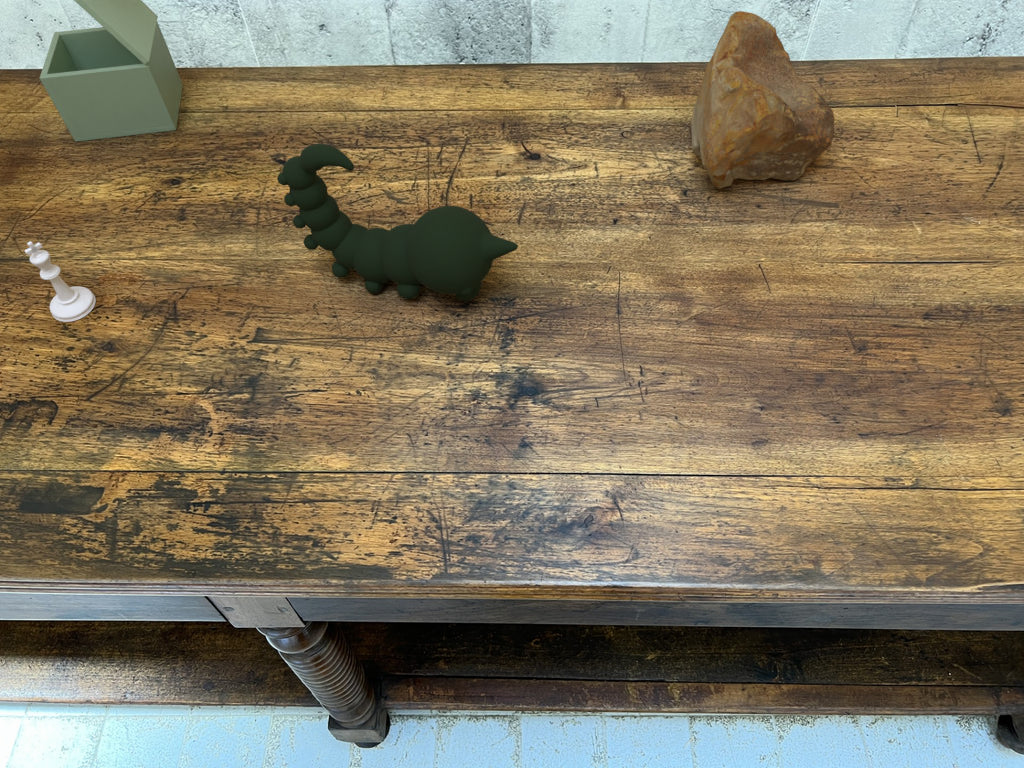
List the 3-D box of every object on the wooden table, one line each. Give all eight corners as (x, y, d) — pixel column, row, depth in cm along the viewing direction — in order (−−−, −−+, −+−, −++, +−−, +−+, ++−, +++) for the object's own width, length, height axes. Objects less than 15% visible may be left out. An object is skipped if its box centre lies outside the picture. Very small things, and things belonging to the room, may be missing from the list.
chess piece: (104, 304, 94) (62, 241, 86) (65, 329, 92) (19, 267, 84) (82, 283, 96) (39, 220, 88) (43, 307, 94) (-4, 244, 86)
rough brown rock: (815, 234, 98) (866, 129, 86) (678, 208, 99) (710, 102, 87) (812, 119, 112) (856, 15, 100) (692, 98, 113) (721, -7, 101)
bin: (75, 142, 111) (39, 78, 103) (87, 95, 118) (54, 32, 110) (176, 130, 112) (148, 66, 104) (183, 84, 118) (157, 21, 110)
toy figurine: (310, 302, 95) (514, 332, 89) (250, 172, 80) (490, 196, 74) (341, 246, 101) (537, 270, 94) (290, 114, 86) (519, 132, 79)
